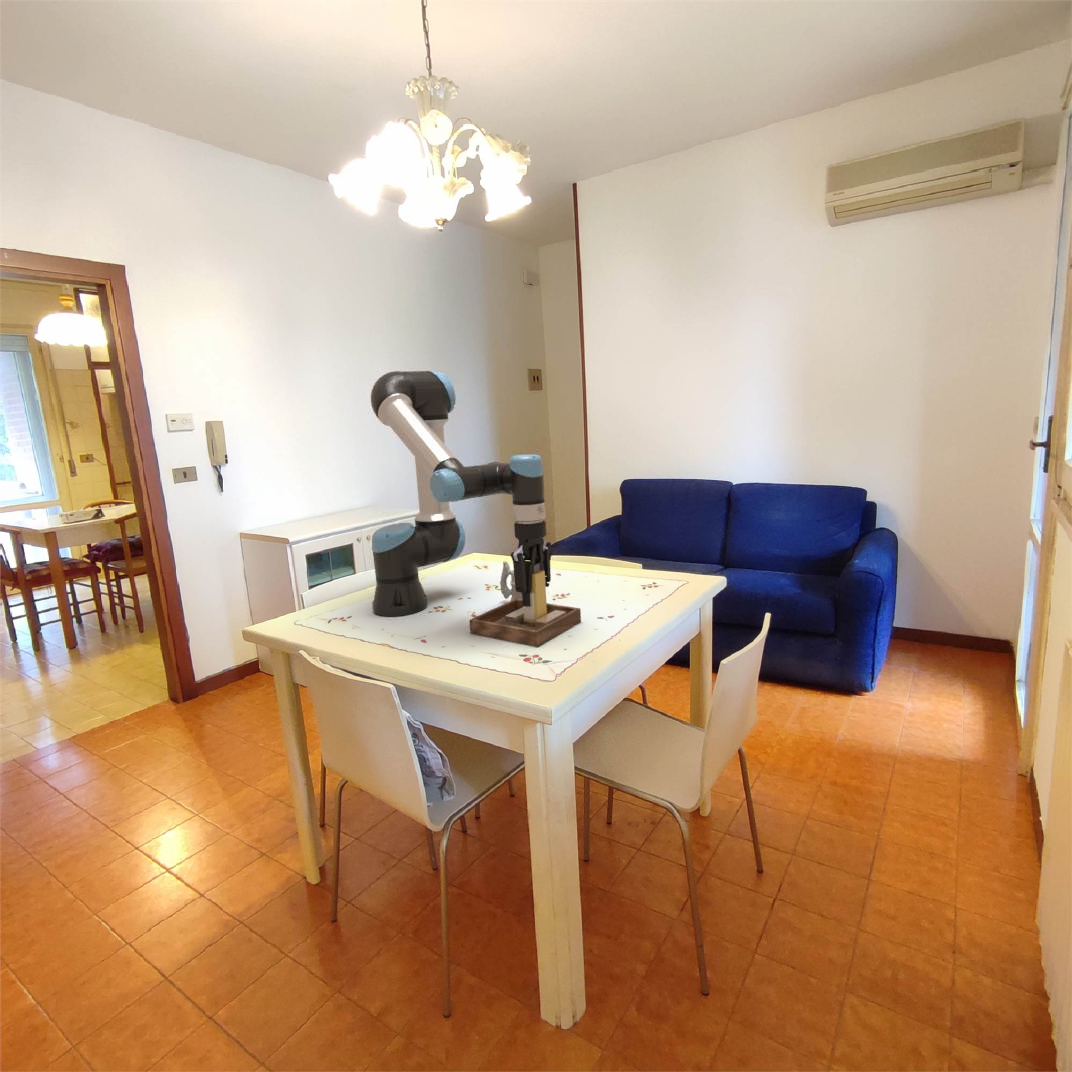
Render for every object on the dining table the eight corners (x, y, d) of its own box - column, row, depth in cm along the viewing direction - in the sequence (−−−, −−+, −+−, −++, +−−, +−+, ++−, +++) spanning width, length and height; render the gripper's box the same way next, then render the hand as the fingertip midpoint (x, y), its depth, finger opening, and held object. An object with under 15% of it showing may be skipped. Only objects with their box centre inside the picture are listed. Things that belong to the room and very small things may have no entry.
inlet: (505, 629, 152) (504, 615, 151) (527, 618, 159) (526, 605, 158) (545, 636, 145) (545, 622, 144) (566, 625, 152) (565, 611, 151)
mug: (528, 611, 166) (525, 567, 164) (493, 605, 173) (490, 563, 171) (544, 603, 172) (541, 561, 170) (510, 598, 179) (507, 557, 177)
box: (470, 633, 152) (469, 619, 151) (516, 611, 167) (516, 598, 166) (537, 647, 140) (536, 632, 140) (581, 621, 156) (580, 608, 155)
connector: (524, 621, 151) (520, 565, 148) (533, 616, 154) (530, 561, 151) (537, 623, 149) (534, 566, 146) (547, 618, 152) (544, 562, 149)
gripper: (521, 528, 138) (527, 628, 142) (562, 515, 151) (567, 607, 156) (494, 526, 142) (501, 623, 147) (537, 514, 156) (542, 603, 160)
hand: (535, 615), depth 151 cm, fingers closed on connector, 4 cm apart
